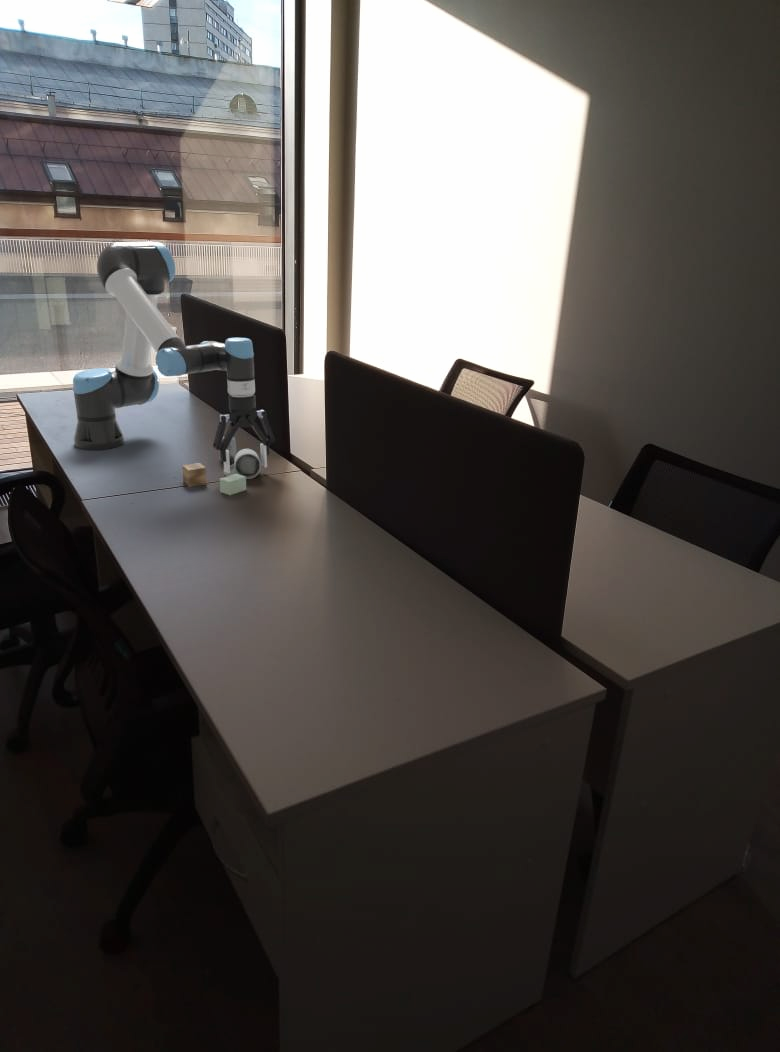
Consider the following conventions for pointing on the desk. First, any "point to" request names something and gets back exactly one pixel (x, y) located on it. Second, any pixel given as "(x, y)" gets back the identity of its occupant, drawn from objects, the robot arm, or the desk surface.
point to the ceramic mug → (245, 464)
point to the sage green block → (232, 484)
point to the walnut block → (194, 474)
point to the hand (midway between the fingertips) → (245, 469)
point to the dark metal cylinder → (231, 450)
